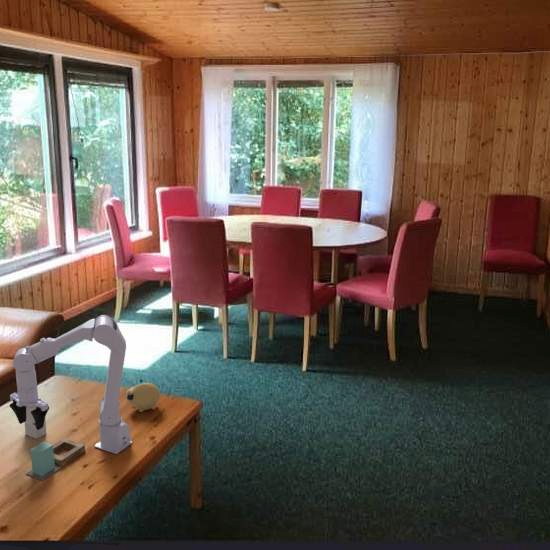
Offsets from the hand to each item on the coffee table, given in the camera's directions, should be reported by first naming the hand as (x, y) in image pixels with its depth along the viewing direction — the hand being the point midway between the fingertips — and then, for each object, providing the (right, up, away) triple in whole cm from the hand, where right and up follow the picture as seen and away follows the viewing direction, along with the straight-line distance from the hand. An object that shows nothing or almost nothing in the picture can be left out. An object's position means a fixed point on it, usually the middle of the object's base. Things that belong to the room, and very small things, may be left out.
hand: (31, 425), depth 187 cm
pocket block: (+9, -10, +3) cm, 14 cm away
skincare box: (-4, -7, +14) cm, 17 cm away
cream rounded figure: (+28, -2, +32) cm, 43 cm away
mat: (+6, -13, -6) cm, 15 cm away
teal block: (+6, -12, -6) cm, 15 cm away
